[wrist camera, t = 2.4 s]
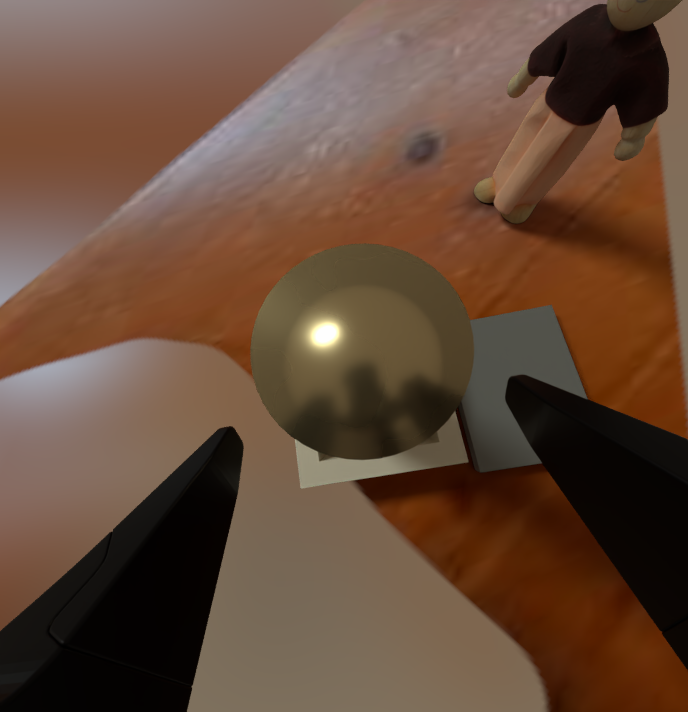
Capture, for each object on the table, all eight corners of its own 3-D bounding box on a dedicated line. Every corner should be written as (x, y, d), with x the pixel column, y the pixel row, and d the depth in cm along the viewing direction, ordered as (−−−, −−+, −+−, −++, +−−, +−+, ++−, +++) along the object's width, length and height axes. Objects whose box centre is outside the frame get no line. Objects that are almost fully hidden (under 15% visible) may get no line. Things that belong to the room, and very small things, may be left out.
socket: (453, 455, 16) (468, 462, 14) (311, 477, 16) (300, 488, 14) (419, 319, 18) (427, 304, 16) (293, 343, 19) (282, 332, 16)
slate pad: (596, 451, 15) (608, 453, 14) (475, 469, 16) (480, 472, 15) (543, 310, 17) (551, 305, 17) (437, 329, 18) (440, 326, 17)
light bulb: (415, 428, 17) (557, 472, 4) (335, 441, 17) (228, 523, 4) (398, 350, 18) (463, 192, 5) (323, 364, 18) (213, 247, 5)
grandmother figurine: (450, 198, 20) (579, -154, 8) (479, 163, 20) (644, -224, 8) (545, 248, 18) (907, -97, 6) (574, 209, 19) (968, -189, 6)
